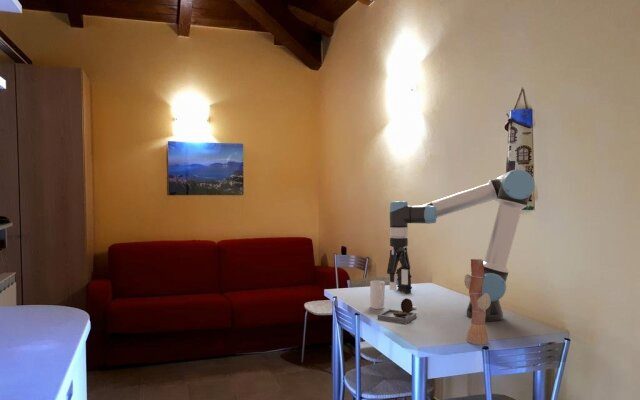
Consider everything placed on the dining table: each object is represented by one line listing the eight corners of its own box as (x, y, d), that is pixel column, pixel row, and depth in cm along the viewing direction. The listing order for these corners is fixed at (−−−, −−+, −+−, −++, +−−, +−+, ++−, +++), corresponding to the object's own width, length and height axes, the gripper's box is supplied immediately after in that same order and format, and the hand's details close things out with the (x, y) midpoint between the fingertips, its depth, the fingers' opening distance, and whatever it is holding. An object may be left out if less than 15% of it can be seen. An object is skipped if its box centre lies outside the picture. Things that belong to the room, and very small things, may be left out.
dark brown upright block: (408, 291, 255) (403, 264, 261) (398, 297, 267) (394, 271, 273) (414, 291, 256) (409, 264, 262) (404, 297, 267) (400, 271, 274)
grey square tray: (416, 317, 208) (416, 313, 208) (406, 323, 198) (406, 319, 197) (389, 313, 215) (389, 309, 215) (377, 319, 204) (377, 314, 204)
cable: (416, 309, 223) (416, 306, 223) (405, 315, 211) (405, 312, 211) (411, 308, 224) (411, 305, 224) (400, 314, 213) (400, 311, 213)
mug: (367, 306, 228) (368, 280, 227) (380, 305, 229) (381, 280, 229) (376, 311, 218) (376, 284, 218) (389, 310, 220) (390, 284, 220)
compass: (390, 315, 205) (389, 298, 206) (403, 315, 210) (402, 298, 211) (404, 316, 199) (403, 298, 200) (417, 316, 203) (416, 298, 205)
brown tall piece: (493, 344, 171) (494, 260, 171) (474, 345, 170) (476, 260, 169) (477, 336, 182) (479, 256, 181) (459, 337, 180) (461, 256, 180)
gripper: (401, 234, 218) (401, 281, 219) (378, 239, 197) (379, 291, 197) (417, 235, 214) (417, 283, 215) (396, 239, 193) (396, 292, 193)
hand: (399, 287), depth 206 cm, fingers open, 13 cm apart
